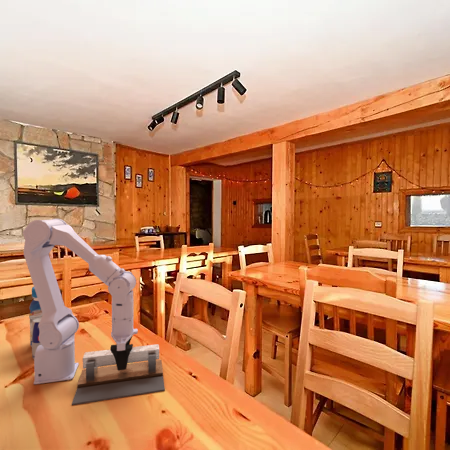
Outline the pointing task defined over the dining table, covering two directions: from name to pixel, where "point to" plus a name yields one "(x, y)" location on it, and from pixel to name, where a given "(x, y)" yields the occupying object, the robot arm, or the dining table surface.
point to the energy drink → (35, 335)
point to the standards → (120, 372)
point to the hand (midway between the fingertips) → (122, 363)
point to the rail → (108, 358)
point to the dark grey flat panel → (118, 390)
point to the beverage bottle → (34, 311)
